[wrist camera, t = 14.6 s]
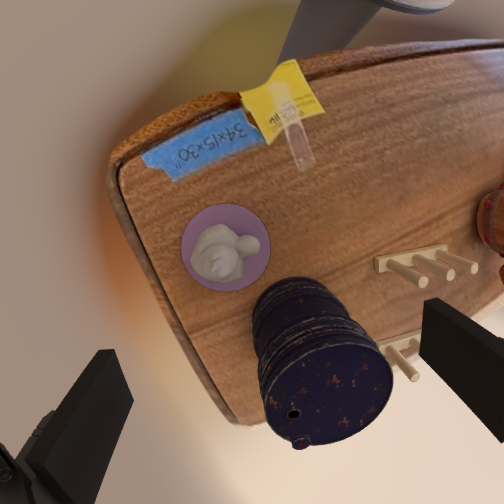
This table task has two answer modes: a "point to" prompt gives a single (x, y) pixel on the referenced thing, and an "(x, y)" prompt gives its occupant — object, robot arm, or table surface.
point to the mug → (492, 222)
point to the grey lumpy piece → (222, 253)
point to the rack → (401, 267)
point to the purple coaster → (241, 224)
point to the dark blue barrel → (316, 365)
